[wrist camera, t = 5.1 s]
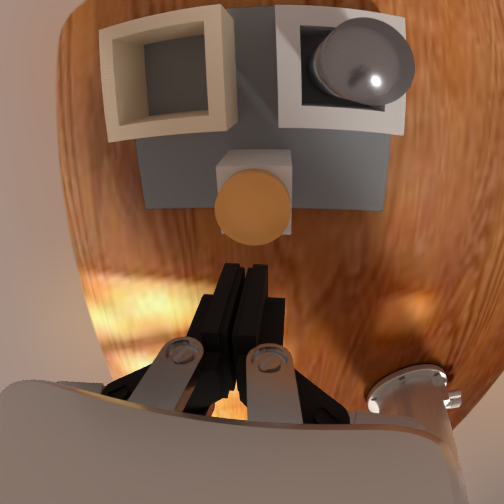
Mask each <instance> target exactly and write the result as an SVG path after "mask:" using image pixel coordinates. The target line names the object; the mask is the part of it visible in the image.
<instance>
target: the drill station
mask: <svg viewBox="0 0 504 504" xmlns="http://www.w3.org/2000/svg"><path fill="white" fill-rule="evenodd" d="M359 17H367V18H373V19H377V20H380V21H383V22H385V23H387V24H389V25H390V26H392V27H393V28H395V29H396V30H397V31H398V32H399V33H400V34H401V35H402V36H403V37H404V39H405V40H406V31H405V18H403V17H398V16H393V15H388V14H383V13H377V12H371V11H364V10H356V9H348V8H339V7H327V6H311V5H275V6H261V7H242V8H229V9H225V8H224V7H223V6H222V5H221V4H215V5H207V6H200V7H193V8H187V9H181V10H175V11H170V12H165V13H160V14H155V15H151V16H147V17H143V18H138V19H135V20H131V21H127V22H124V23H120V24H117V25H113V26H110V27H107V28H104V29H101V30H99V51H100V69H101V82H102V93H103V103H104V112H105V121H106V128H107V136H108V143H109V142H116V141H123V140H130V139H135V142H136V150H137V157H138V164H139V171H140V177H141V183H142V190H143V195H144V201H145V207H146V209H165V208H215V202H216V198H217V196H218V194H219V192H220V190H221V188H222V187H223V185H224V183H225V182H226V181H227V180H228V179H229V178H230V177H231V176H232V175H233V174H235V173H237V172H239V171H242V170H245V169H253V168H254V169H262V170H266V171H268V172H271V173H273V174H274V175H276V176H277V177H278V178H279V179H280V180H281V181H282V182H283V183H284V185H285V186H286V188H287V190H288V193H289V196H290V210H291V214H290V220H289V223H288V226H287V228H286V229H285V231H284V232H283V233H282V234H281V235H291V218H292V208H311V209H344V210H369V211H383V204H384V197H385V189H386V180H387V171H388V161H389V150H390V138H391V134H395V135H403V136H404V123H405V105H406V93H405V94H404V95H403V96H402V97H400V98H399V99H398V100H396V101H394V102H392V103H389V104H385V105H378V106H376V105H366V104H362V103H359V102H355V101H351V100H347V99H343V98H339V97H335V96H331V95H327V94H324V93H322V92H320V91H319V90H317V89H316V88H315V87H314V86H313V85H312V83H311V82H310V80H309V78H308V75H307V69H306V67H307V61H308V58H309V57H310V55H311V54H312V52H313V51H314V50H315V49H316V48H317V47H318V46H319V45H320V44H321V43H322V41H323V40H324V39H325V38H326V37H327V36H328V35H329V34H330V33H331V32H332V31H333V30H334V29H335V28H336V27H337V26H338V25H340V24H341V23H343V22H345V21H347V20H349V19H353V18H359ZM221 234H225V233H224V232H223V231H222V230H221Z"/></svg>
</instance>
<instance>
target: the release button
mask: <svg viewBox="0 0 504 504" xmlns="http://www.w3.org/2000/svg"><path fill="white" fill-rule="evenodd" d="M290 214H291V210H290V196H289V193H288V190H287V188H286V186H285V185H284V183H283V182H282V181H281V180H280V179H279V178H278V177H277V176H276V175H274V174H273V173H271V172H268V171H266V170H262V169H254V168H253V169H245V170H242V171H239V172H237V173H235V174H233V175H232V176H231V177H230V178H229V179H228V180H227V181H226V182H225V183H224V185H223V187H222V188H221V190H220V192H219V194H218V196H217V198H216V202H215V217H216V220H217V223H218V225H219V227H220V228H221V230H222V231H223V232H224V233H225V234H226V235H227V236H228V237H229V238H231V239H232V240H234V241H236V242H238V243H241V244H244V245H251V246H257V245H264V244H267V243H270V242H272V241H274V240H275V239H277V238H278V237H279V236H280V235H281V234H282V233H283V232H284V231H285V229H286V228H287V226H288V223H289V220H290Z"/></svg>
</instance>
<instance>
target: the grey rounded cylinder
mask: <svg viewBox="0 0 504 504" xmlns="http://www.w3.org/2000/svg"><path fill="white" fill-rule="evenodd" d="M306 69H307V75H308V78H309V80H310V82H311V83H312V85H313V86H314V87H315V88H316V89H317V90H319V91H320V92H322V93H324V94H327V95H331V96H335V97H339V98H343V99H347V100H351V101H355V102H359V103H362V104H366V105H376V106H378V105H385V104H389V103H392V102H394V101H396V100H398V99H399V98H400V97H402V96H403V95H404V94H405V93H406V92H407V90H408V89H409V87H410V85H411V84H412V81H413V78H414V73H415V63H414V57H413V54H412V51H411V49H410V46H409V45H408V43H407V41H406V40H405V39H404V37H403V36H402V35H401V34H400V33H399V32H398V31H397V30H396V29H395V28H393V27H392V26H390V25H389V24H387V23H385V22H383V21H380V20H377V19H373V18H367V17H359V18H353V19H349V20H347V21H345V22H343V23H341V24H340V25H338V26H337V27H336V28H335V29H334V30H333V31H332V32H331V33H330V34H329V35H328V36H327V37H326V38H325V39H324V40H323V41H322V43H321V44H320V45H319V46H318V47H317V48H316V49H315V50H314V51H313V52H312V54H311V55H310V57H309V58H308V61H307V67H306Z"/></svg>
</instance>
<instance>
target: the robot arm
mask: <svg viewBox="0 0 504 504" xmlns="http://www.w3.org/2000/svg"><path fill="white" fill-rule="evenodd" d="M284 316H285V298H270V297H268V265H260V264H254V265H253V268H248V270H247V274H246V278H245V269H244V268H242V267H240V265H239V264H231V263H225V265H224V267H223V270H222V273H221V275H220V278H219V281H218V284H217V286H216V289H215V292H214V294H213V295H210V294H204V295H203V296H202V298H201V301H200V303H199V306H198V308H197V311H196V313H195V316H194V318H193V321H192V323H191V326H190V328H189V331H188V333H187V336H186V337H178V338H175V339H172V340H170V341H169V342H167V343H166V344H165V345H164V346H163V348H162V349H161V351H160V352H159V354H158V355H157V357H156V358H155V360H154V361H153V363H152V364H150V365H148V366H146V367H144V368H142V369H139V370H137V371H135V372H133V373H131V374H128V375H126V376H124V377H122V378H119V379H117V380H115V381H113V382H111V383H109V384H108V385H107V386H104V385H103V383H84V382H68V381H59V382H50V381H44V380H23V381H18V382H14V383H12V384H10V385H9V386H8V387H6V388H5V389H4V390H3V391H2V392H1V393H0V504H469V501H468V497H467V492H466V488H465V483H464V478H463V474H462V469H461V465H460V460H459V456H458V452H457V448H456V444H455V439H454V436H453V432H452V428H451V424H450V421H449V417H448V414H447V410H446V409H448V408H449V409H451V408H456V407H459V406H460V405H461V397H460V396H461V390H460V389H455V390H452V391H448V390H447V389H446V385H447V376H446V374H445V371H444V370H443V369H442V368H441V367H439V366H436V365H432V364H422V365H415V366H410V367H407V368H404V369H401V370H399V371H396V372H394V373H392V374H390V375H388V376H387V377H385V378H384V379H382V380H381V381H379V382H378V383H377V384H376V385H375V386H374V387H373V388H372V389H371V390H370V392H369V394H368V396H367V405H368V408H369V410H370V411H371V412H367V411H360V410H357V413H354V412H348V411H347V410H346V409H345V408H344V407H343V406H342V405H341V404H339V403H338V402H337V401H335V400H334V399H333V398H331V397H330V396H329V395H327V394H326V393H325V392H323V391H322V390H321V389H320V388H318V387H317V386H316V385H314V384H313V383H312V382H311V381H309V380H308V379H307V378H305V377H304V376H303V375H302V374H300V373H299V372H298V371H297V370H295V369H294V365H293V359H292V356H291V353H290V352H289V351H288V350H287V349H286V348H285V347H283V335H284ZM236 379H237V388H238V391H239V395H240V400H241V401H242V403H243V404H244V405H245V406H246V407H247V416H248V421H246V420H236V419H226V418H218V417H211V415H212V413H213V411H214V408H215V402H217V401H218V400H220V399H222V398H228V394H229V390H230V391H234V389H235V384H236Z"/></svg>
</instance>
